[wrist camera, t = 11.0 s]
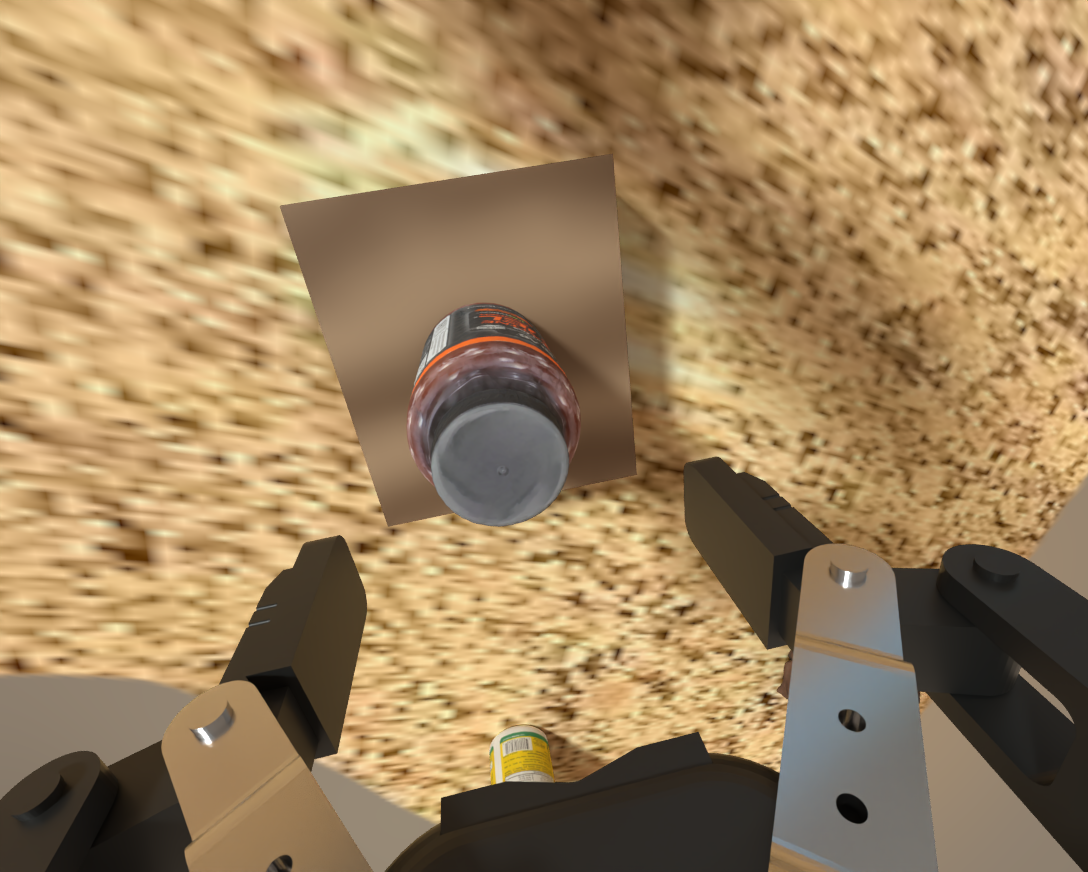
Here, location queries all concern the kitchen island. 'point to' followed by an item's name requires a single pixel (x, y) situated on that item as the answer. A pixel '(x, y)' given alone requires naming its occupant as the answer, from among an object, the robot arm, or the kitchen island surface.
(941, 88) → the kitchen island surface
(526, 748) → the supplement bottle
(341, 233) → the walnut block
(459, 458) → the supplement bottle
